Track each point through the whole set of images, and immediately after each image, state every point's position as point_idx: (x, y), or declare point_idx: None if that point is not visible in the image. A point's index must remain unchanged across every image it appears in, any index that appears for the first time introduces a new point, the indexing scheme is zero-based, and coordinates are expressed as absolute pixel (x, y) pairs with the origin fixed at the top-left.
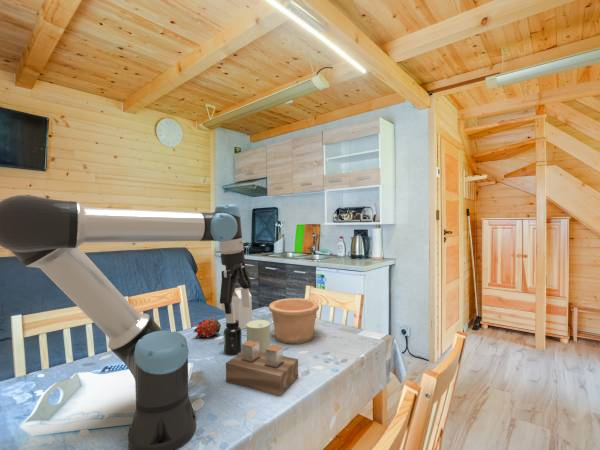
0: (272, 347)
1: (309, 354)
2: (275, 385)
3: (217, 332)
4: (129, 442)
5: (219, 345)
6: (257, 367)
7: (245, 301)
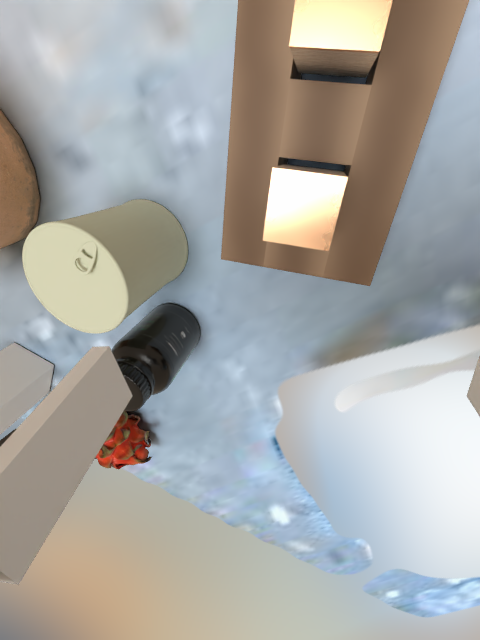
0: (335, 10)
1: (54, 9)
2: None
3: None
4: None
5: None
6: (401, 110)
7: (94, 412)
